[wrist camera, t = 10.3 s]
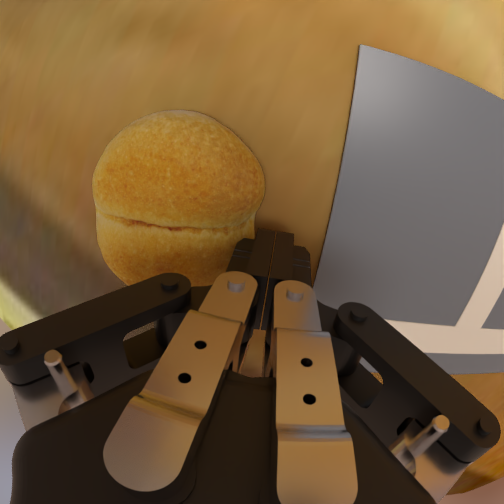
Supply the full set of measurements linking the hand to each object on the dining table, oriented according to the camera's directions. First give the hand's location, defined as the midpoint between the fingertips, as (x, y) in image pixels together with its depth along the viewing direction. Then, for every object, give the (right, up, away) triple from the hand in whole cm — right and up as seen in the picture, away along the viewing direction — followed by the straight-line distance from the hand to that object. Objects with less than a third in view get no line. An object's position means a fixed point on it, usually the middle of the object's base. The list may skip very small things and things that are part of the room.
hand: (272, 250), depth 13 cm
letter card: (+13, -1, +1) cm, 14 cm away
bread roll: (-4, +2, +2) cm, 5 cm away
